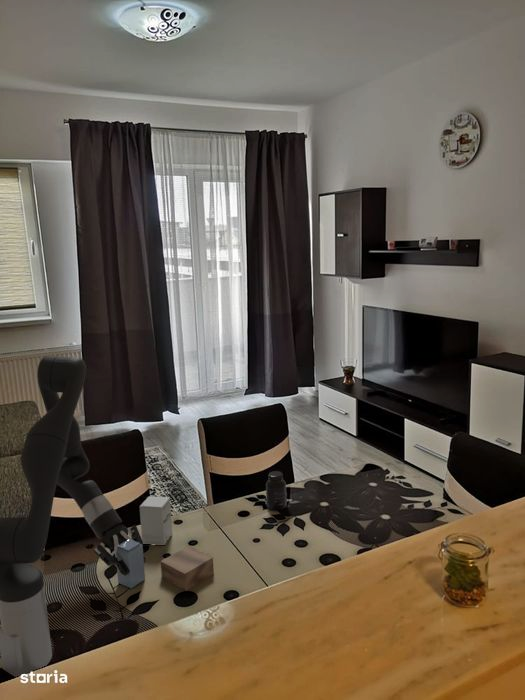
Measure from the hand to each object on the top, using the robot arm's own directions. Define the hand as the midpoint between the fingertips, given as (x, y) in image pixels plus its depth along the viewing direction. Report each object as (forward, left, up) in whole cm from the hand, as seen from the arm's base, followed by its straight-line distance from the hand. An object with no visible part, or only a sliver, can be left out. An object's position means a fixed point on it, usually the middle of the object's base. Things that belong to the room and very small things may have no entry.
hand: (135, 568), depth 150 cm
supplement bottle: (+57, -8, -5) cm, 58 cm away
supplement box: (+20, +12, -5) cm, 24 cm away
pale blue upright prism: (0, +2, -4) cm, 5 cm away
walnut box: (+10, -9, -5) cm, 14 cm away
